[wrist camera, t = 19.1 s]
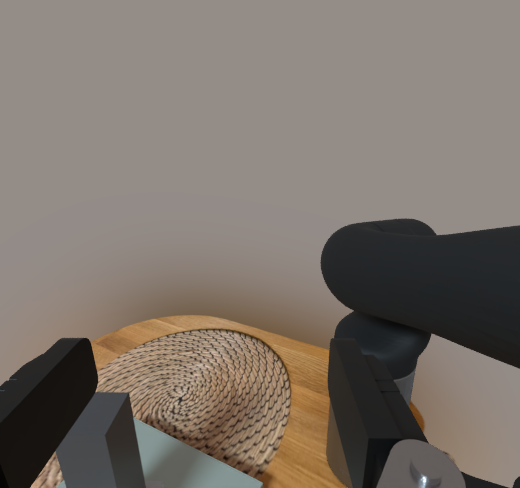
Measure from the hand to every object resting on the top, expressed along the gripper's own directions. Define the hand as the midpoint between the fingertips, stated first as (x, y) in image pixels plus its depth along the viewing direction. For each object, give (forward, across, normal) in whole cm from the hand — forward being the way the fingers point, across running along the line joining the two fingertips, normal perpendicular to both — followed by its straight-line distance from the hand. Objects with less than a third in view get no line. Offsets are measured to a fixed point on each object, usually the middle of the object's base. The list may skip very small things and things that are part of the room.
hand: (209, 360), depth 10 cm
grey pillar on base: (+12, +13, +32) cm, 36 cm away
